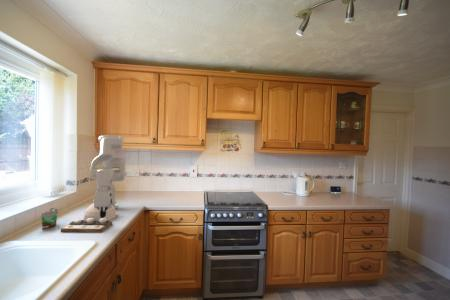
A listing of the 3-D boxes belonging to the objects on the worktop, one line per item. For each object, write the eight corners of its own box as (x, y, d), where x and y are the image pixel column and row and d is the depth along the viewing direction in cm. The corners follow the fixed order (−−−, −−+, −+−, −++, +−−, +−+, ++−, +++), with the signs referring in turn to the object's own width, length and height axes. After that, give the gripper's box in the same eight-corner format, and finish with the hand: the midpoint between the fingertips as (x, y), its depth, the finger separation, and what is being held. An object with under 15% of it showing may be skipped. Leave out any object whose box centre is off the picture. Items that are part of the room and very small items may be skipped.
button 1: (76, 221, 139) (76, 219, 139) (82, 221, 139) (82, 219, 139) (72, 223, 135) (72, 221, 135) (78, 223, 135) (78, 221, 135)
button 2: (101, 220, 140) (101, 217, 140) (107, 220, 140) (107, 218, 140) (98, 222, 136) (98, 220, 136) (104, 222, 136) (104, 220, 136)
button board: (75, 223, 141) (75, 219, 141) (112, 224, 142) (112, 219, 142) (60, 231, 128) (60, 226, 128) (101, 232, 129) (101, 227, 129)
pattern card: (68, 225, 133) (68, 224, 133) (104, 225, 134) (104, 225, 134) (62, 228, 128) (62, 227, 128) (99, 229, 129) (99, 228, 129)
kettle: (108, 211, 169) (109, 188, 168) (121, 217, 156) (121, 192, 155) (79, 217, 153) (79, 192, 153) (89, 225, 140) (90, 197, 140)
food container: (53, 229, 132) (53, 213, 132) (41, 230, 130) (41, 213, 130) (61, 222, 144) (62, 207, 144) (50, 223, 142) (51, 208, 142)
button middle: (89, 220, 139) (89, 217, 139) (95, 220, 139) (95, 217, 139) (85, 222, 135) (85, 219, 135) (91, 222, 135) (91, 220, 135)
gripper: (117, 187, 141) (117, 215, 141) (94, 187, 141) (94, 215, 141) (112, 189, 133) (111, 219, 134) (87, 189, 133) (87, 219, 133)
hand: (102, 217), depth 137 cm, fingers closed
